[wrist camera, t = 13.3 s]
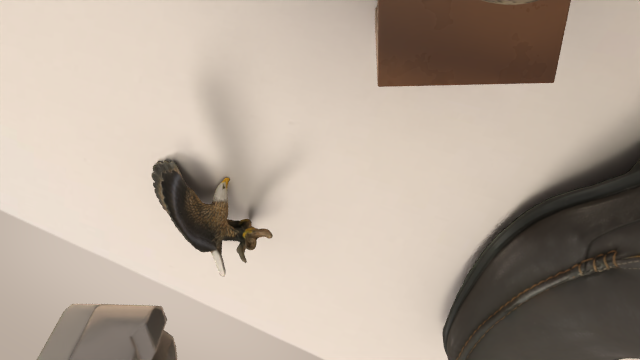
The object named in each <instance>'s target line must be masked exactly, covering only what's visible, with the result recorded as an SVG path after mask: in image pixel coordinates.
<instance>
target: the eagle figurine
mask: <svg viewBox="0 0 640 360" xmlns="http://www.w3.org/2000/svg"><path fill="white" fill-rule="evenodd" d="M153 171H154V173H152V178H153V180H154V181H155V183H153V186H154V187H155V193H156V196H157V198H158V199H159V202H160V204H161V205H162V206H163V209H164V210H166V211H167V213H168V214H169V216H170V217H171V220H172V221H173V222H174V224H175V226H176V227H177V228H178V230H179V231H180V232H181V233H182V235H183V236H184V237H185V239H186V240H187V241H188V242H190V243H191V244H192V246H194V247H195V248H196V249H198V250H199V251H201V252H209V251H211V253H212V255H213V258H214V260H215V263H216V266H217V268H218V271H219V274H220V275H221V276H225V267H224V263H223V259H222V255H221V252H222V240H225V241H227V240H230V241H232V240H233V241H239V242H240V244H239V246H238V247H237V252H238V253H239V256H240V258H241V259H242V261H243V262H245V263H246V262H247V261H246V258H245V256H244V252H245V249H248V250H253V249H255V247H256V240H257V238H259V237H267V238H272V234H271V232H270V231H269V230H267V229H256V228H254V227H252V226H251V221H250V220H249V219H243V220H241V221H232V220H228V219H227V216H228V200H227V185H228V182H229V180H230V178H225V179H224V180H223V181H222V182H221V183H220V184H219V186H218V187H217V189H216V192H215V195H214V199H213V201H212V204H205V203H202V202H201V200H200V199H199V198H198V196H197V195H196V193H195V192H194V191H193V190H192V189H191V188H189V187H188V186H187V185H186V183H185V181H184V179H183V178H182V175H181V173H180V171H179V169H178V166H177V165H176V163H175V162H174V161H171V162H168V161H166V160H165V161H164V162H163V163H162V162H157V165H155V166H153Z"/></svg>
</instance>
